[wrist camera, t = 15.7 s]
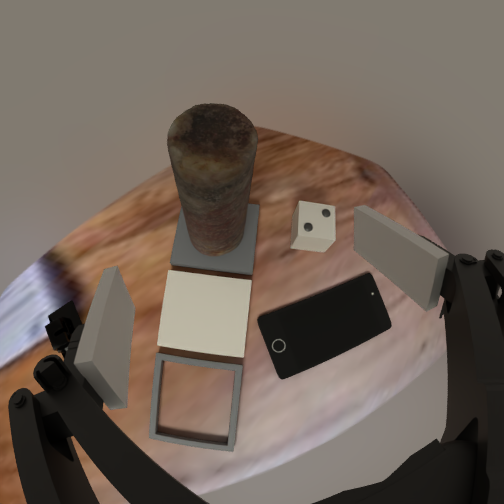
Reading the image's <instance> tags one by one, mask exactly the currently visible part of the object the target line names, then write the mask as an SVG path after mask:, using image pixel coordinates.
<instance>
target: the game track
mask: <svg viewBox="0 0 504 504" xmlns="http://www.w3.org/2000/svg"><path fill="white" fill-rule="evenodd" d="M258 215H259V205H256V204H248V208H247V216H246V223H245V229H244V235H243V238H242V241H241V243H240V244H239V246H238V247H237V248H236V249H234V250H233V251H231V252H229V253H227V254H224V255H221V256H217V257H216V256H213V257H211V256H207V255H204V254H202V253H200V252H199V251H198V250H197V249H196V248H195V247H194V246H193V244H192V243H191V241H190V237H189V234H188V230H187V226H186V222H185V218H184V213H183V209H182V207H181V211H180V216H179V220H178V225H177V230H176V234H175V239H174V244H173V249H172V255H171V260H170V263H171V265H174V266H182V267H190V268H197V269H205V270H213V271H221V272H230V273H238V274H246V275H252V273H253V263H254V253H255V244H256V234H257V224H258ZM251 282H252V280H245V279H236V278H228V277H220V276H212V275H204V274H196V273H188V272H181V271H173V270H169V271H168V276H167V282H166V288H165V294H164V300H163V307H162V313H161V320H160V327H159V335H158V343H157V345H159V346H164V347H170V348H176V349H182V350H188V351H195V352H202V353H209V354H217V355H225V356H233V357H242V358H244V349H245V339H246V330H247V320H248V311H249V301H250V292H251ZM163 361H170V362H176V363H182V364H188V365H194V366H201V367H208V368H216V369H224V370H232V371H235V379H234V388H233V398H232V407H231V417H230V426H229V436H228V443H223V442H214V441H206V440H199V439H193V438H187V437H181V436H175V435H170V434H165V433H160V432H157V429H158V414H159V401H160V390H161V379H162V370H163ZM242 367H243V365H240V364H231V363H222V362H214V361H207V360H200V359H193V358H186V357H180V356H174V355H169V354H163V353H156V359H155V368H154V378H153V388H152V400H151V413H150V429H149V438H151V439H155V440H160V441H164V442H169V443H174V444H180V445H186V446H192V447H198V448H205V449H213V450H221V451H231V452H233V451H234V442H235V432H236V423H237V414H238V405H239V395H240V386H241V377H242Z"/></svg>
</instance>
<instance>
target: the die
mask: <svg viewBox="0 0 504 504" xmlns="http://www.w3.org/2000/svg"><path fill="white" fill-rule="evenodd" d="M334 241H335V206H331V205H325V204H319V203H312V202H306V201H299V202H298V205H297V207H296V209H295V211H294V213H293V216H292V229H291V246H290V248H293V249H301V250H309V251H316V252H325V251H326V250H327V249H328V248H329V247H330V246H331V245H332V244H333V243H334Z"/></svg>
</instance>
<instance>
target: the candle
mask: <svg viewBox="0 0 504 504" xmlns="http://www.w3.org/2000/svg"><path fill="white" fill-rule="evenodd" d="M257 142H258V136H257V132H256V129H255V128H254V126H253V124H252V122H251V121H250V120H249V119H248V118H247V117H246V116H245V115H244V114H242V113H241V112H240V111H239V110H237V109H236V108H234V107H231V106H228V105H224V104H211V103H210V104H200V105H195V106H193V107H192V108H190V109H188V110H186V111H185V112H184V113H182V114H181V115H179V116H178V117H177V118H176V119H175V120H174V122H173V123H172V125H171V127H170V129H169V132H168V139H167V146H168V152H169V156H170V159H171V165H172V168H173V173H174V177H175V182H176V186H177V189H178V193H179V198H180V201H181V206H182V209H183V213H184V218H185V222H186V226H187V230H188V234H189V237H190V241H191V243H192V244H193V246H194V247H195V248H196V249H197V250H198V251H199V252H200V253H202V254H204V255H207V256H211V257H213V256H216V257H217V256H221V255H224V254H227V253H229V252H231V251H233V250H234V249H236V248H237V247H238V246H239V244H240V243H241V241H242V238H243V235H244V229H245V223H246V216H247V208H248V201H249V195H250V187H251V180H252V175H253V166H254V161H255V156H256V150H257Z"/></svg>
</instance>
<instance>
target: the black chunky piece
mask: <svg viewBox="0 0 504 504" xmlns="http://www.w3.org/2000/svg"><path fill="white" fill-rule="evenodd" d="M48 318H49V321H50V323H49V324H48V325H46V326H45V328H46V331H47V334H48V336H49V339H50V342H51V344H52V347H53V349H54V350H56V351H58V353H62V355H63V357H64V358H65V355H66V352H67V350H68V349H67V348H68V345H69V343H70V339H71V336H72V333H73V332H74V331H75V329H76V328H77V327H78V325H82V323H81V320H80V318H79V315H78V313H77V310H76V308H75V305H74V303H73V301H72V300H71V301H70V302H68V303H67V304H65V305H64V306H62V307H61V308H59V309H58V310H56V311H55V312H53V313H52V314H50V315H49V316H48Z"/></svg>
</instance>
